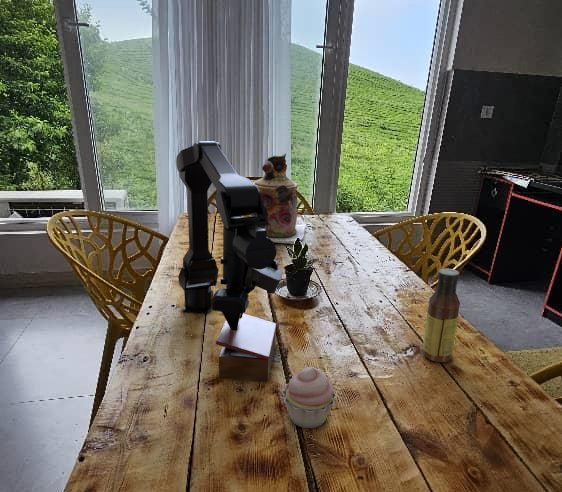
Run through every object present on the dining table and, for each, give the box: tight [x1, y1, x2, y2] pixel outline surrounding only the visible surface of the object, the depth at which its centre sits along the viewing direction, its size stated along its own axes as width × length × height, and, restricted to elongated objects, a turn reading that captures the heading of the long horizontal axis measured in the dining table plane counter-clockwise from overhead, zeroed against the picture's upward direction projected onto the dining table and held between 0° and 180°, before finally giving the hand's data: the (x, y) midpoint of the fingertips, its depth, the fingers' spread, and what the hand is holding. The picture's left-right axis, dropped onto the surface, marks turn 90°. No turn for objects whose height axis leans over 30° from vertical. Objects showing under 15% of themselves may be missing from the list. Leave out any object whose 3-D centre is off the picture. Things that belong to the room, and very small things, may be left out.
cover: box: [215, 313, 277, 360], centre depth 89 cm, size 10×14×5 cm
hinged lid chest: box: [218, 327, 277, 383], centre depth 92 cm, size 10×14×5 cm
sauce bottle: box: [422, 267, 461, 363], centre depth 93 cm, size 6×6×20 cm
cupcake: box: [281, 366, 338, 429], centre depth 75 cm, size 9×9×10 cm
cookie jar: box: [251, 152, 307, 245], centre depth 173 cm, size 25×25×32 cm
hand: (236, 324), depth 90 cm, fingers closed on cover, 5 cm apart
